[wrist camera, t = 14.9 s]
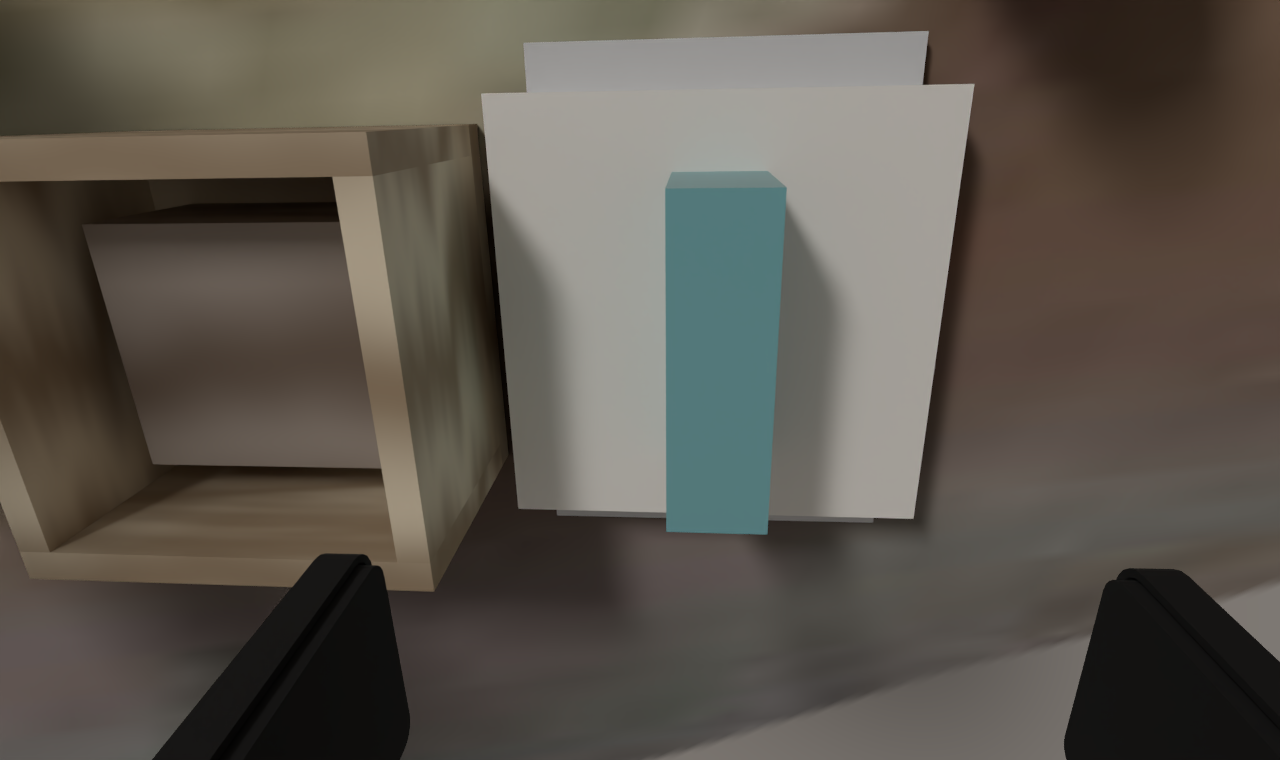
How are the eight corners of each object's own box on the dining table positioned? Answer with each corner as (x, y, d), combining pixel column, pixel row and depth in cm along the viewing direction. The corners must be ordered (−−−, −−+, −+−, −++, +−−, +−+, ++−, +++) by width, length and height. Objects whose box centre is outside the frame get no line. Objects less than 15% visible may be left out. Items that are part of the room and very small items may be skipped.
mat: (527, 44, 24) (523, 42, 23) (923, 33, 23) (928, 31, 22) (559, 507, 30) (556, 515, 30) (869, 514, 29) (873, 522, 29)
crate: (129, 131, 26) (-141, 141, 18) (477, 124, 25) (365, 131, 17) (212, 450, 31) (30, 579, 22) (508, 454, 30) (434, 591, 21)
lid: (499, 94, 24) (422, 89, 17) (949, 85, 23) (1054, 76, 16) (530, 480, 29) (481, 591, 23) (897, 488, 28) (960, 607, 21)
